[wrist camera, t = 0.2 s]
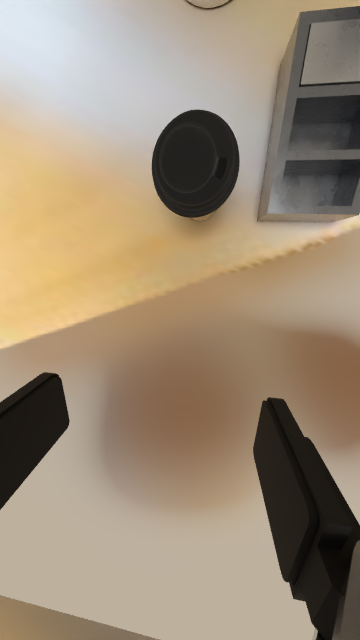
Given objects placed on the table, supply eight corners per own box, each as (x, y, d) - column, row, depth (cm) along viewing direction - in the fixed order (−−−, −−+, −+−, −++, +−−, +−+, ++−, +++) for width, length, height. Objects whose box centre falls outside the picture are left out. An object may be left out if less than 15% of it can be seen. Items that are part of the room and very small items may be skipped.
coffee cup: (231, 223, 33) (248, 198, 19) (179, 237, 35) (160, 224, 21) (222, 161, 31) (234, 79, 17) (166, 179, 33) (135, 120, 19)
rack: (280, 64, 27) (301, 10, 21) (377, 57, 25) (428, -4, 19) (257, 221, 33) (267, 213, 27) (333, 222, 31) (362, 214, 26)
